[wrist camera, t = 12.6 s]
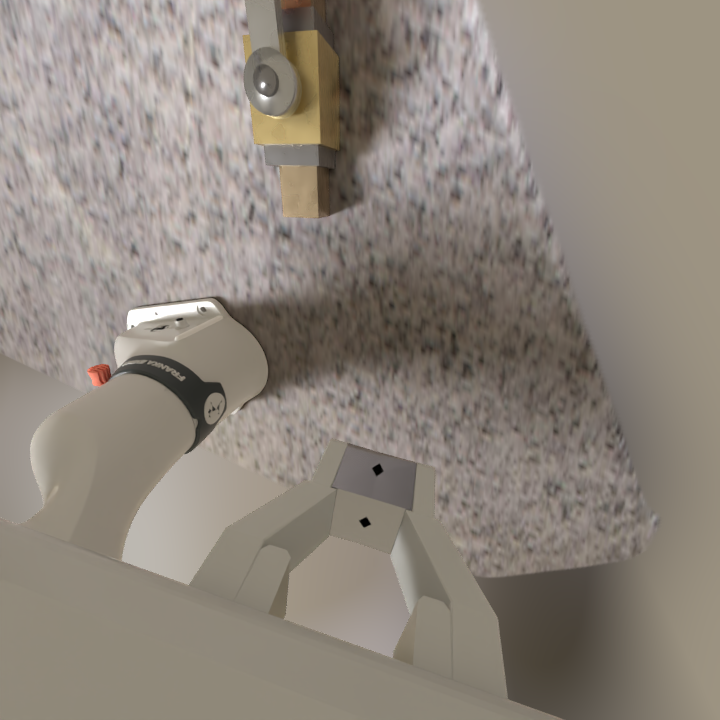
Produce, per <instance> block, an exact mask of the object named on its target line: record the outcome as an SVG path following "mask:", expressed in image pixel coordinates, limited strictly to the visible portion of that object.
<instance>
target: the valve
mask: <svg viewBox="0 0 720 720" xmlns="http://www.w3.org/2000/svg"><path fill="white" fill-rule="evenodd" d="M281 9H282V18H283V28H284V37H285V47H286V56H287V59H288V60H289V61H290V62H292V63H293V65H294V66H295V67H296V69H297V71H298V73H299V76H300V79H301V84H302V96H301V101H300V104H299V106H298V108H297V110H296V111H295V112H294V113H293V114H292V115H291V116H290V117H288V118H285V119H275V118H273V117H270V116H268V115H265V114H263V113H261V112H259V111H258V110H257V109H256V108H255V107H254V106H253V105H252V104H251V102H250V107H251V117H252V126H253V135H254V144H258V145H262V146H264V151H265V162H266V165H269V166H276V167H279V168H280V181H281V193H282V205H283V217H302V218H322V217H326V216H330V200H329V169H335V151H340V116H339V57H338V56H337V54H336V53H335V52H334V34H333V33H332V31H331V30H330V29H329V27H328V26H327V24H326V10H325V0H281ZM243 43H244V52H245V62H247V60H248V58H249V57H250V55H251V54H252V48H251V41H250V35H243Z"/></svg>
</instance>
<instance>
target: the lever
mask: <svg viewBox="0 0 720 720" xmlns="http://www.w3.org/2000/svg"><path fill="white" fill-rule="evenodd" d="M245 6H246V13H247V20H248V27H249V34H250V41H251V48H252V54H251V55H250V57H249V58H248V60H247V62H246V65H245V69H244V87H245V91H246V94H247V97H248V99H249V101H250V102H251V104H252V105H253V106H254V107H255V108H256V109H257V110H258V111H259V112H261V113H263V114H265V115H268V116H270V117H273V118H275V119H285V118H288V117H290V116H291V115H292V114H293V113H294V112H295V111H296V110H297V108H298V106H299V104H300V101H301V96H302V84H301V79H300V76H299V73H298V71H297V69H296V67H295V66H294V65H293V63H292V62H290V61H289V60H288V59H287V56H286V47H285V37H284V28H283V18H282V9H281V0H245Z"/></svg>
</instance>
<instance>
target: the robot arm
mask: <svg viewBox="0 0 720 720" xmlns="http://www.w3.org/2000/svg"><path fill="white" fill-rule="evenodd" d="M204 307H205V309H206V310H205V309H204ZM114 351H115V358H116V362H117V366H118V369H117V370H116V371H115V372H114V374H113V375H112V376H111V373H110V368H109V365H106V364H100V365H96V366H94V367H91V368H89V369H88V371H87V372H88V374H89V376H90V377H91V378H92V383H93V385H95V386H99V387H98V388H96V389H94V390H92V391H91V392H89V393H87V394H85V395H84V396H82V397H80V398H78V399H77V400H75V401H73V402H71V403H70V404H68V405H66V406H64V407H63V408H61V409H59V410H57V411H56V412H54V413H52V414H51V415H50V416H49V417H48V418H46V419H45V420H44V421H43V423H42V424H41V425H40V426H39V427H38V429H37V430H36V432H35V434H34V436H33V439H32V442H31V446H30V457H31V464H32V469H33V472H34V476H35V478H36V481H37V483H38V486H39V488H40V491H41V494H42V498H43V508H42V509H41V510H40V511H39V512H38V513H37V514H35V515H34V516H33V517H32V518H30V519H29V520H27V521H26V522H24V523H20V524H16V523H13V522H11V521H8V520H5V519H3V518H1V517H0V720H564V719H561V718H557V717H555V716H552V715H549V714H547V713H544V712H541V711H538V710H536V709H533V708H530V707H527V706H524V705H522V704H519V703H516V702H513V701H510V700H508V698H507V689H506V681H505V673H504V665H503V657H502V650H501V641H500V633H499V625H498V618H497V616H496V615H495V613H494V611H493V609H492V608H491V606H490V604H489V603H488V601H487V599H486V597H485V596H484V594H483V592H482V591H481V589H480V587H479V586H478V584H477V582H476V580H475V579H474V577H473V575H472V574H471V572H470V570H469V569H468V567H467V565H466V564H465V562H464V560H463V558H462V557H461V555H460V553H459V552H458V550H457V548H456V547H455V545H454V543H453V541H452V540H451V538H450V536H449V535H448V533H447V531H446V530H445V528H444V526H443V524H442V523H441V521H440V520H438V519H435V518H434V509H435V468H434V467H432V466H429V465H425V464H421V463H416V462H413V461H410V460H406V459H402V458H398V457H395V456H391V455H387V454H384V453H380V452H376V451H373V450H370V449H366V448H363V447H360V446H357V445H353V444H350V443H349V444H348V443H345V442H342V441H339V440H336V439H333V438H332V439H331V440H330V441H329V442H328V445H327V447H326V449H325V451H324V453H323V456H322V458H321V460H320V462H319V464H318V467H317V469H316V471H315V473H314V475H313V477H312V480H311V481H308V480H305V481H303V482H301V483H300V484H298V485H296V486H295V487H293V488H291V489H290V490H288V491H286V492H285V493H283V494H281V495H280V496H278V497H277V498H275V499H273V500H271V501H270V502H268V503H267V504H265V505H263V506H261V507H260V508H258V509H256V510H255V511H253V512H252V513H250V514H248V515H247V516H245V517H244V518H242V519H240V520H238V521H237V522H235V523H233V524H232V525H230V526H228V527H227V528H226V529H225V530H224V532H223V533H222V535H221V537H220V538H219V539H218V541H217V542H216V544H215V546H214V547H213V549H212V550H211V552H210V553H209V555H208V556H207V558H206V559H205V561H204V563H203V564H202V566H201V567H200V569H199V571H198V572H197V573H196V575H195V576H194V578H193V580H192V581H191V582H190V584H189V585H187V584H184V583H181V582H178V581H175V580H173V579H170V578H167V577H164V576H162V575H159V574H156V573H153V572H150V571H148V570H145V569H141V568H139V567H136V566H133V565H131V564H128V563H125V562H122V554H123V550H124V545H125V541H126V538H127V534H128V532H129V529H130V526H131V524H132V521H133V519H134V517H135V515H136V513H137V511H138V510H139V508H140V506H141V504H142V503H143V502H144V500H145V499H146V497H147V496H148V495H149V493H150V492H151V491H152V490H153V489H154V487H155V486H156V485H157V484H158V482H159V481H160V480H161V479H162V478H163V476H164V475H165V474H166V473H167V472H168V471H169V470H170V469H171V467H172V466H173V465H174V464H175V463H176V462H177V461H178V460H179V459H180V458H181V457H182V456H183V455H184V454H187V453H189V452H191V451H192V450H193V449H194V448H195V447H197V446H198V445H199V444H200V443H201V442H202V441H203V440H204V439H205V438H206V437H207V436H208V435H209V434H210V433H211V432H212V430H213V429H214V428H215V426H217V425H218V424H219V423H220V422H222V421H223V420H224V419H225V418H226V417H228V416H229V415H230V414H235V413H236V412H238V411H239V410H240V409H241V408H242V406H243V404H244V403H245V402H247V401H248V400H250V399H251V398H253V397H255V396H256V395H258V394H259V393H260V392H261V391H262V390H263V388H264V386H265V384H266V382H267V378H268V365H267V360H266V357H265V354H264V352H263V350H262V348H261V346H260V344H259V343H258V341H257V340H256V339H255V337H254V336H253V335H252V334H251V333H250V332H249V331H248V330H247V329H246V328H245V327H243V326H242V325H241V324H239V323H238V322H237V321H235V320H234V319H233V318H232V317H230V315H229V314H228V313H227V311H226V310H225V309H224V307H223V306H222V305H221V304H220V303H219V302H218V301H217V300H216V299H213V298H207V299H199V300H191V301H183V302H175V303H167V304H159V305H150V306H142V307H136V308H133V309H132V310H130V311H129V313H128V317H127V331H125V332H123V333H121V334H120V335H119V336H118V337H117V339H116V341H115V347H114ZM329 535H331V536H334V537H338V538H341V539H345V540H349V541H352V542H356V543H359V544H362V545H365V546H368V547H371V548H373V549H376V550H379V551H382V552H385V553H388V554H390V555H391V556H390V557H391V560H392V563H393V566H394V569H395V572H396V575H397V578H398V580H399V584H400V587H401V590H402V593H403V596H404V599H405V602H406V604H407V608H408V611H409V614H410V618H409V620H408V622H407V624H406V626H405V629H404V631H403V632H402V635H401V637H400V639H399V641H398V643H397V645H396V647H395V650H394V651H393V658H390V657H387V656H385V655H382V654H379V653H376V652H374V651H371V650H368V649H365V648H363V647H360V646H357V645H354V644H351V643H349V642H346V641H343V640H340V639H337V638H335V637H332V636H329V635H326V634H324V633H321V632H318V631H315V630H312V629H309V628H307V627H304V626H301V625H298V624H296V623H293V622H290V621H287V620H284V618H285V615H286V606H287V595H288V583H289V573H290V572H291V571H292V570H293V569H294V568H295V567H297V566H298V565H299V564H300V563H301V562H302V561H303V560H304V559H305V558H306V557H307V556H308V555H309V554H311V553H312V552H313V551H314V550H315V549H316V548H317V547H318V546H319V545H320V544H321V543H322V542H324V541H325V540H326V539H327V538H328V537H329Z"/></svg>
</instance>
